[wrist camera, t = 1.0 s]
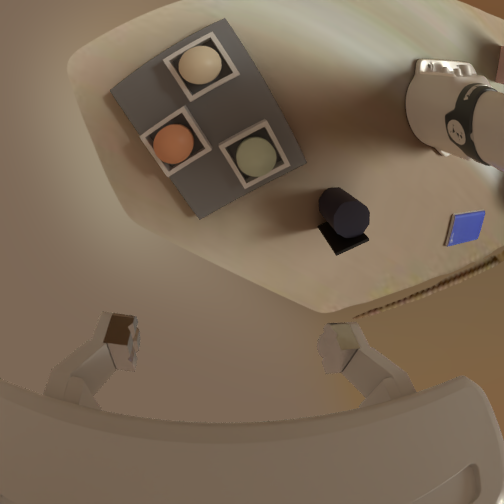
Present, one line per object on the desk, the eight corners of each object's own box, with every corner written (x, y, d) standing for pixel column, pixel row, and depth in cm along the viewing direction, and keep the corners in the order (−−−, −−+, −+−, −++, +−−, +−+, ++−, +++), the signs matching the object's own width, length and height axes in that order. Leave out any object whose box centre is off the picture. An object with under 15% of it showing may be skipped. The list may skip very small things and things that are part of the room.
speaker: (348, 225, 46) (372, 254, 37) (317, 228, 46) (335, 258, 37) (350, 183, 42) (377, 204, 33) (317, 185, 42) (337, 206, 33)
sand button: (209, 41, 25) (208, 38, 24) (228, 72, 28) (229, 70, 26) (174, 61, 26) (171, 60, 25) (193, 91, 29) (191, 91, 27)
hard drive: (447, 247, 50) (477, 239, 51) (455, 216, 46) (485, 211, 46) (443, 243, 52) (474, 236, 52) (451, 212, 47) (481, 208, 47)
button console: (224, 21, 26) (225, 14, 23) (303, 159, 39) (311, 166, 36) (114, 90, 30) (103, 91, 26) (200, 214, 42) (198, 226, 39)
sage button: (263, 130, 33) (265, 132, 31) (280, 161, 35) (282, 165, 34) (229, 148, 34) (229, 151, 32) (247, 178, 36) (248, 183, 35)
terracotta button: (181, 116, 31) (178, 117, 29) (201, 147, 33) (200, 150, 32) (149, 137, 32) (145, 140, 30) (170, 166, 34) (167, 171, 33)
